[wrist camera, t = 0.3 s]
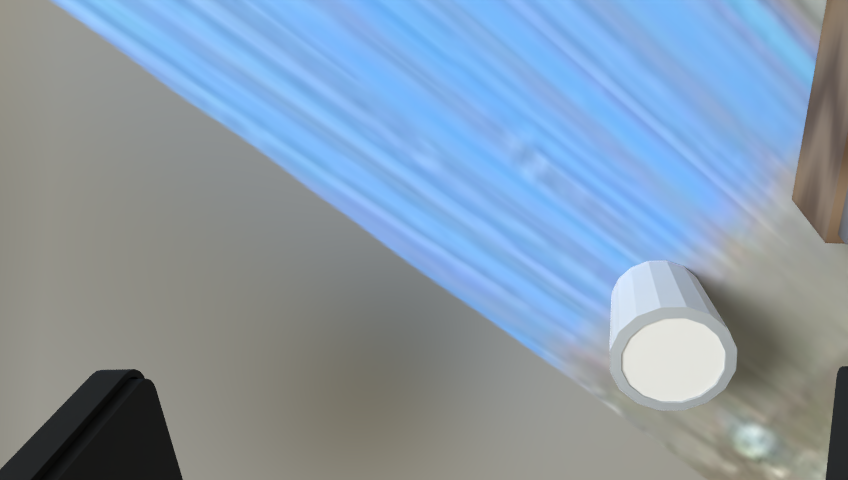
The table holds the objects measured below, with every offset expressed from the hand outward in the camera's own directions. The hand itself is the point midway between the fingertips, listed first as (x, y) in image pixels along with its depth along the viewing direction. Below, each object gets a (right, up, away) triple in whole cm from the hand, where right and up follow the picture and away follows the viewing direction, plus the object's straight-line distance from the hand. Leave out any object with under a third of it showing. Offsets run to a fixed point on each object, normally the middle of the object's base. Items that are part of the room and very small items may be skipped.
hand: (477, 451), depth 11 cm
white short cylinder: (+14, -1, +38) cm, 41 cm away
